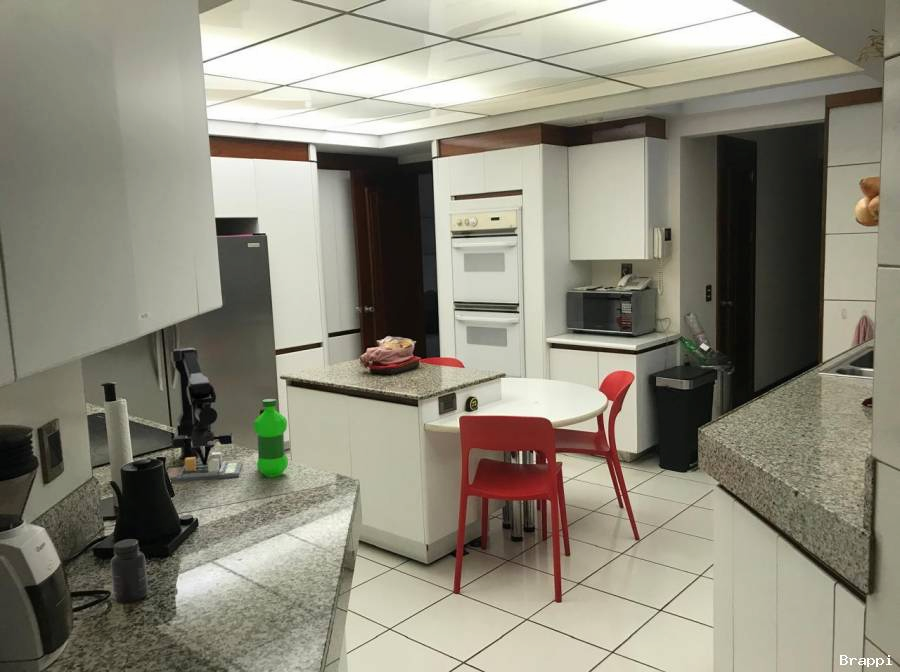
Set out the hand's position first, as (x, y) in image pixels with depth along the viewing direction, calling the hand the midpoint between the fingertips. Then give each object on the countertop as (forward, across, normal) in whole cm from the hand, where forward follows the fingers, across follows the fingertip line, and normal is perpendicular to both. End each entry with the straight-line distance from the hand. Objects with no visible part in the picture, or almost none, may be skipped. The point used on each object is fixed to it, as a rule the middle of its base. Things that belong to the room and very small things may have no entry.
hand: (204, 465), depth 240 cm
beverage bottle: (+3, +20, +3) cm, 21 cm away
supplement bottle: (+4, -3, -87) cm, 87 cm away
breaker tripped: (+2, -5, 0) cm, 5 cm away
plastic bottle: (+3, +22, -7) cm, 24 cm away
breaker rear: (+2, +3, +4) cm, 6 cm away
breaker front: (+2, +3, -4) cm, 5 cm away
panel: (+3, -1, 0) cm, 3 cm away
